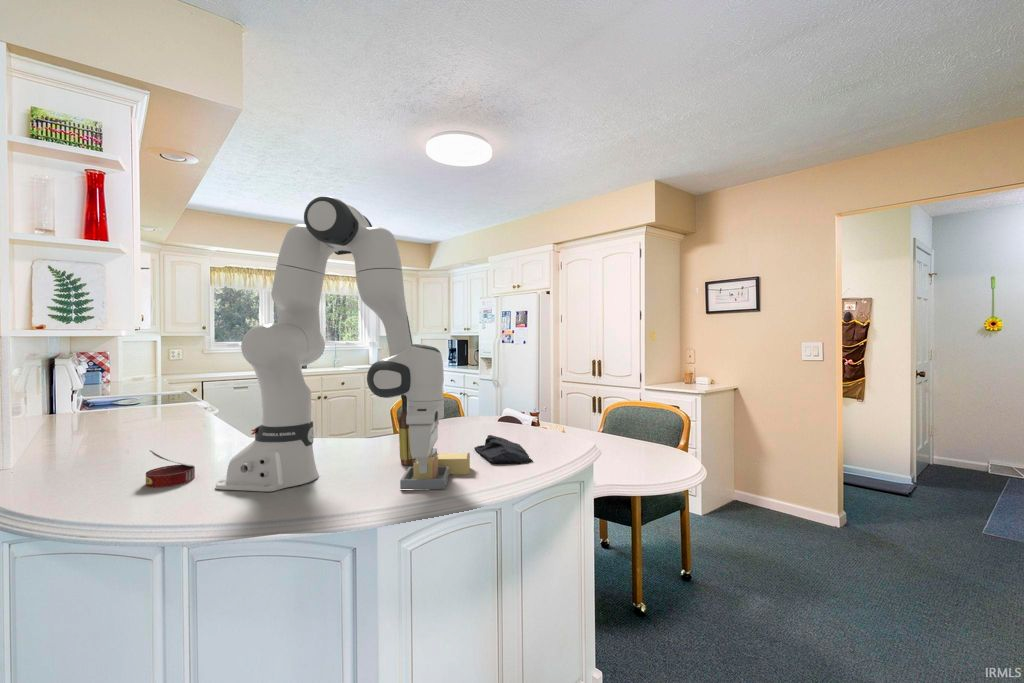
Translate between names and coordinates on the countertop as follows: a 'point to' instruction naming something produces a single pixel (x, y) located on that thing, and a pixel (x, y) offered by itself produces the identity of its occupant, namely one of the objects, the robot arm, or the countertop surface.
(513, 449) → the crumpled black cloth
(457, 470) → the beige boxy piece
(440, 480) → the tray
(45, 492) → the countertop surface
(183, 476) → the canned food
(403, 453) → the sauce bottle
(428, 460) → the stub
